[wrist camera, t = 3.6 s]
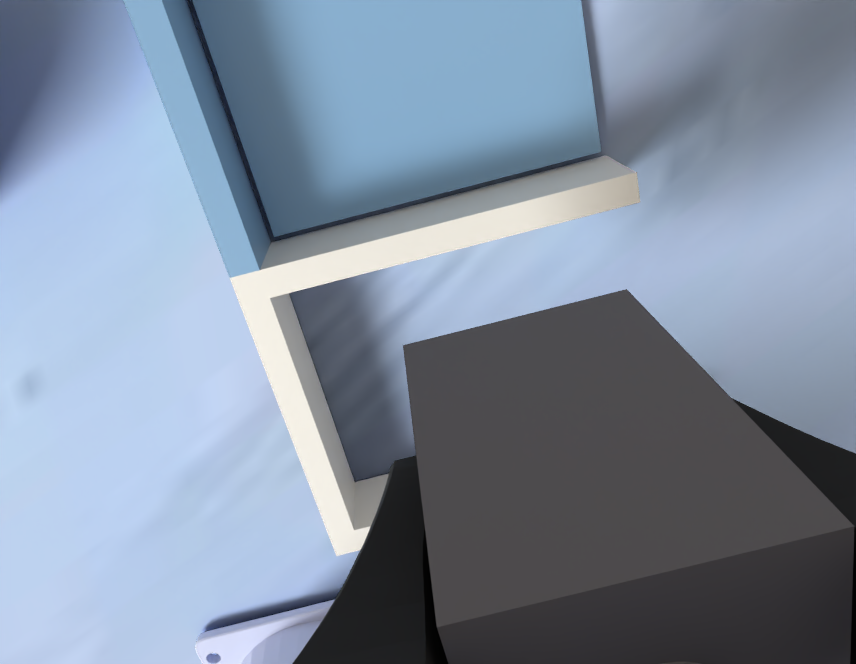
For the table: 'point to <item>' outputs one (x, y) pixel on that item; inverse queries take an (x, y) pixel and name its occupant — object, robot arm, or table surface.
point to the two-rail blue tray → (370, 158)
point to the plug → (614, 503)
